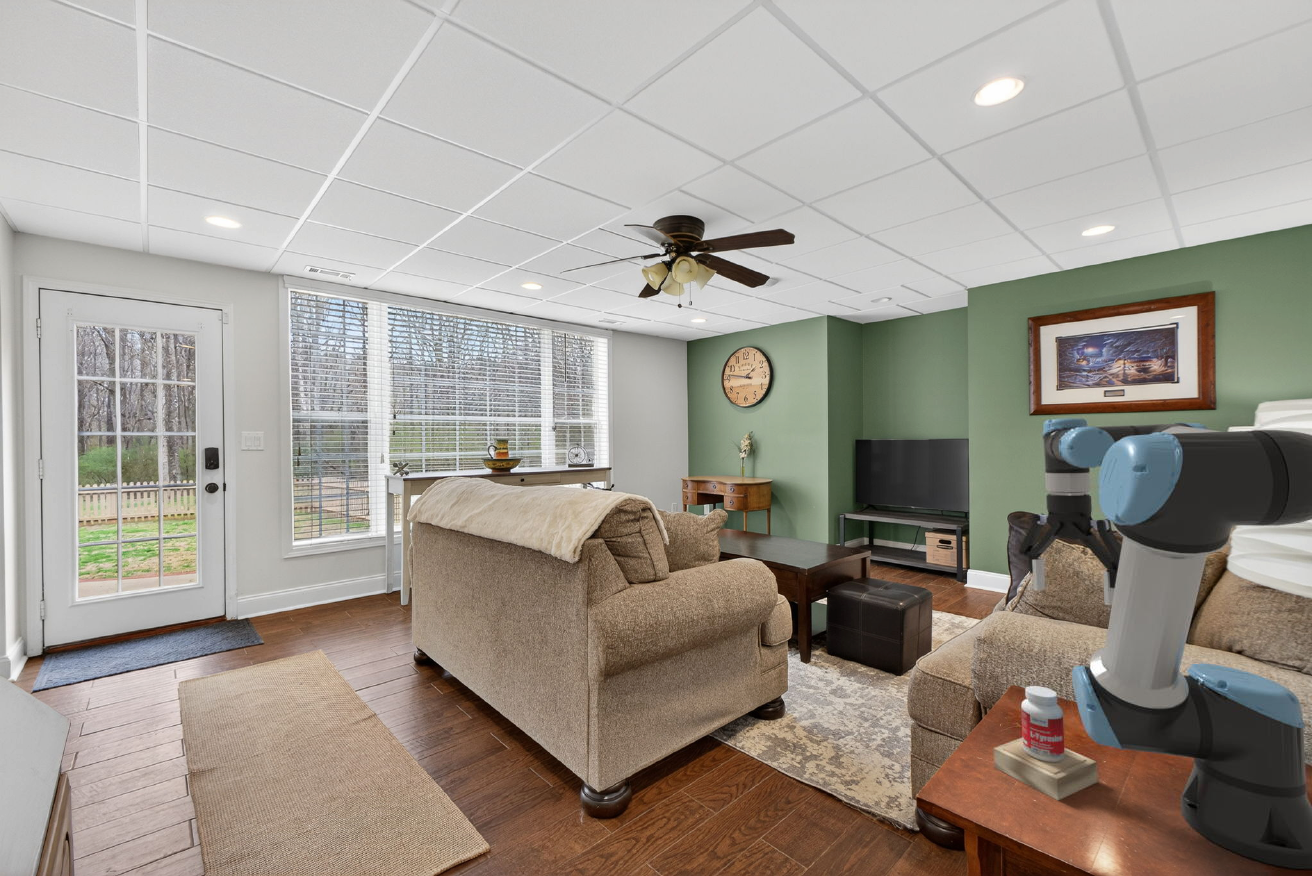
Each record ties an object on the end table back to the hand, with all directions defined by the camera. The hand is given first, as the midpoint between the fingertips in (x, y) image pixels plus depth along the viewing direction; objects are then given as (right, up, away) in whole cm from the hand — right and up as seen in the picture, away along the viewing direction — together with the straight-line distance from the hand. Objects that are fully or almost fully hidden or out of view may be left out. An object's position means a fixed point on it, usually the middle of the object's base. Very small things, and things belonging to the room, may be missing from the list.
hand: (1073, 596), depth 118 cm
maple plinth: (-17, -27, -16) cm, 36 cm away
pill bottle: (-17, -24, -16) cm, 34 cm away
